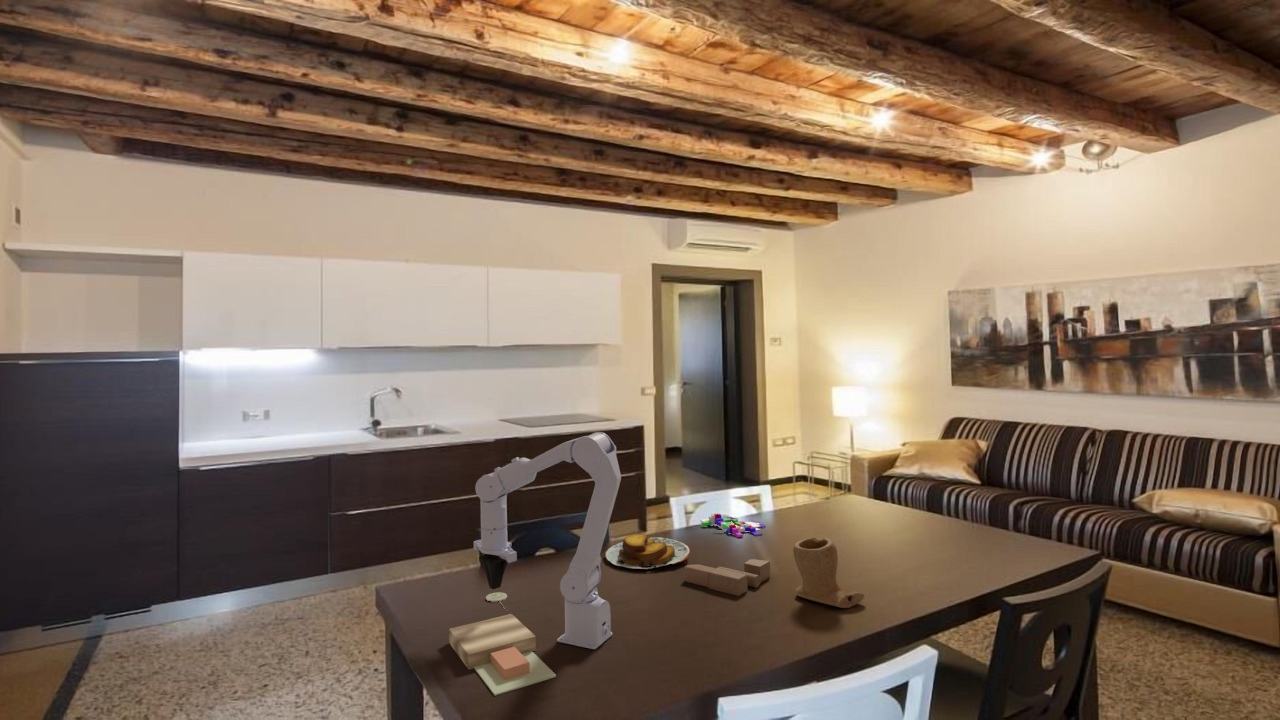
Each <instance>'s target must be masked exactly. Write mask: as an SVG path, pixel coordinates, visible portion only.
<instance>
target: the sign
mask: <svg viewBox="0 0 1280 720" xmlns="http://www.w3.org/2000/svg"><path fill="white" fill-rule="evenodd" d="M506 598H507V599H508V594H507V593H505V592H500V591H499V592H493V593H489V594H487V595H486V596H485V601H486V600H487V601H486V602H488V601H491V602H490V603H499V605H500V604H501V605H502V606H503V607H502V606H501V605H500V606H501V607H502V609H503V608H504V609H506V608H505V606H504V605H503V603H502V602H503V601H505V600H507V599H506ZM502 600H503V601H502ZM498 601H499V602H498ZM504 609H503V610H504ZM509 614H510V613H509ZM509 614H507V615H509Z"/></svg>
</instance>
